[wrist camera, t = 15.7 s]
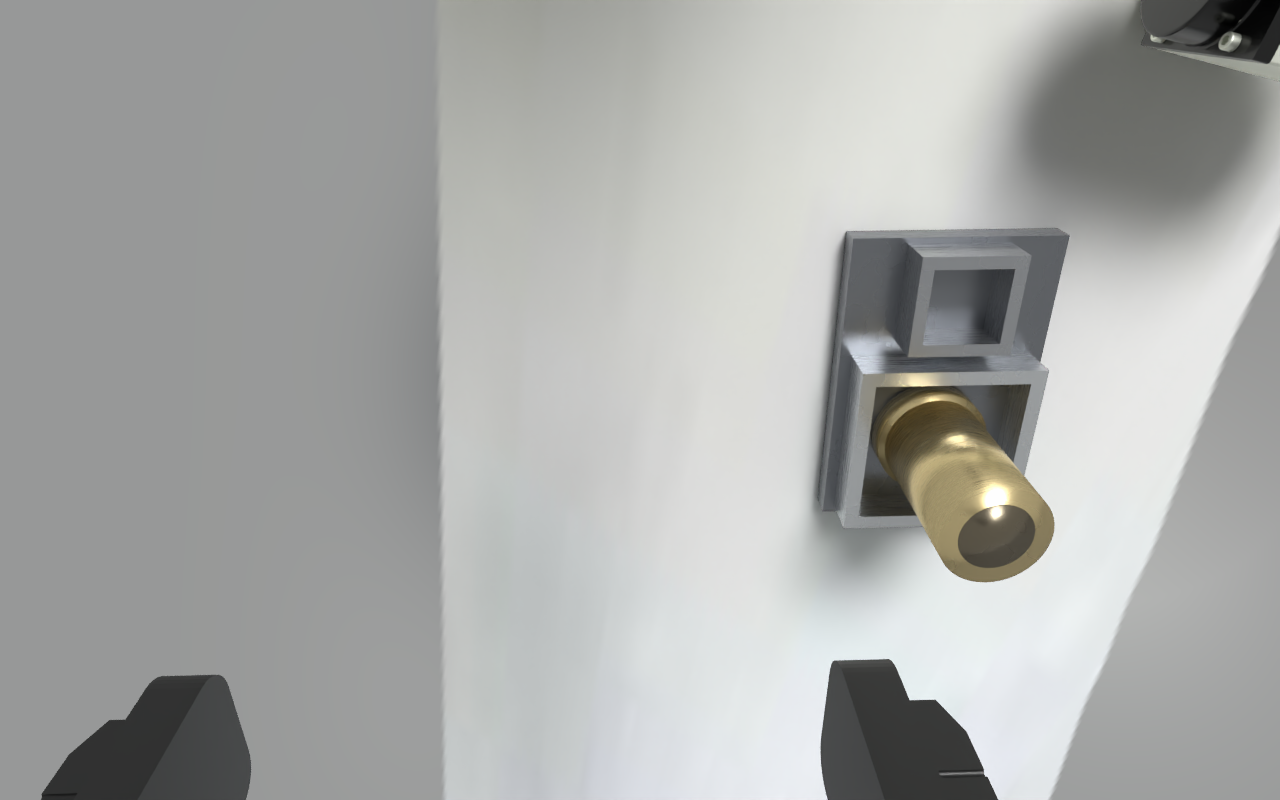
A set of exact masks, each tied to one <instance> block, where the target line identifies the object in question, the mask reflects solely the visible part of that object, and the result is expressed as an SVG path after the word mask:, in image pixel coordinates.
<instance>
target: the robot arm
mask: <svg viewBox="0 0 1280 800" xmlns="http://www.w3.org/2000/svg"><path fill="white" fill-rule="evenodd" d="M821 766H822V774H823V781H824V786H825V790H826V795H827V798H828V800H998V799H997V796H996V794H995V792H994V790H993V788H992V786H991V784H990V781H989V779H988V777H985V775H984V769H983V766H982V764H981V762H980V760H979V758H978V756H977V754H976V751H975V749H974V747H973V745H972V743H971V741H970V739H969V736H968V734H967V732H966V731H965V730H964V729H963V728H962V727H961V726H960V725H959V724H958V723H957V722H956V721H955V720H954V719H953V718H952V716H951V715H950V714H949V713H948V712H947V711H946V710H945V709H944V708H943V707H942V706H941V705H940V704H939V703H938V702H937V701H936V700H911V701H909V698H908V696H907V693H906V691H905V688H904V686H903V683H902V681H901V678H900V676H899V674H898V671H897V669H896V667H895V665H894V664H893V662H892V661H891V660H889V659H882V660H844V661H833V663H832V665H831V668H830V674H829V682H828V689H827V697H826V705H825V712H824V720H823V728H822V736H821ZM250 775H251V760H250V754H249V750H248V747H247V744H246V741H245V737H244V734H243V731H242V728H241V725H240V722H239V718H238V715H237V712H236V709H235V706H234V702H233V699H232V696H231V693H230V690H229V686H228V684H227V682H226V680H225V679H224V678H223V677H222V676H220V675H195V676H161V677H158V678H156V679H155V680H153V681H152V682H151V683H150V684H149V685H148V687H147V688H146V689H145V691H144V692H143V694H142V696H141V697H140V699H139V700H138V702H137V703H136V705H135V706H134V708H133V709H132V711H131V712H130V714H129V715H128V717H127V718H126V720H109V721H108V722H107V723H106V724H104V725H103V726H102V727H101V728H100V729H99V730H97V731H96V732H95V733H94V734H93V735H92V736H90V737H89V738H88V739H87V740H86V741H85V742H83V743H82V744H81V745H80V746H79V747H77V748H76V749H75V750H74V751H73V752H72V753H70V754H69V756H68V757H67V758H66V760H65V761H64V763H63V764H62V766H61V767H60V769H59V770H58V771H57V773H56V775H55V776H54V777H53V779H52V780H51V781H50V783H49V785H48V786H47V787H46V789H45V790H44V791H43V793H42V799H41V800H246V797H247V793H248V789H249V784H250Z"/></svg>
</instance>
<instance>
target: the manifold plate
mask: <svg viewBox="0 0 1280 800" xmlns="http://www.w3.org/2000/svg"><path fill="white" fill-rule="evenodd" d="M1068 240H1069V235H1068V234H1066V233H1065V232H1063V231H1061V230H1059V229H1058V228H1041V229H973V230H905V231H847V232H846V241H845V251H844V260H843V269H842V279H841V288H840V297H839V307H838V316H837V325H836V335H835V344H834V353H833V362H832V372H831V381H830V390H829V400H828V409H827V418H826V428H825V437H824V446H823V456H822V465H821V474H820V484H819V493H818V501H819V503H820V506H821V508H822V511H836V512H837V514H838V516H839V519H840V521H841V524H842V526H843V528H888V527H923V526H922V524H921V522H920V520H919V519H918V517H917V515H916V513H915V511H914V510H913V508H912V506H911V504H910V503H909V501H908V499H907V497H906V495H905V494H904V492H903V490H902V488H901V487H900V485H899V483H898V482H897V481H895V480H893V479H892V478H891V477H890V476H889V475H888V474H887V473H886V472H885V470H884V468H883V467H882V465H881V463H880V461H879V460H878V458H877V456H876V454H875V451H874V449H873V445H872V431H873V427H874V424H875V421H876V419H877V417H878V415H879V413H880V412H881V411H882V409H883V408H884V407H885V406H886V405H887V403H889V402H890V401H891V400H892V399H893V398H894V397H896V396H897V395H899V394H900V393H902V392H904V391H906V390H908V389H911V388H914V387H917V386H949V387H952V388H955V389H957V390H959V391H960V392H962V393H963V394H964V395H965V396H967V397H968V398H969V400H970V401H971V402H972V403H973V404H974V406H975V407H976V408H977V409H978V411H979V412H980V413H981V415H982V417H983V418H984V421H985V424H986V430H987V431H988V433H989V434H990V435H991V436H992V438H993V439H994V440H995V441H996V442H997V444H998V445H999V446H1000V447H1001V449H1002V450H1003V451H1004V452H1005V453H1006V455H1007V456H1008V457H1009V458H1010V460H1011V461H1012V462H1013V463H1014V464H1015V466H1016V467H1017V468H1018V469H1019V471H1020V472H1021V473H1022V474H1023V475H1024V474H1025V470H1026V466H1027V462H1028V457H1029V453H1030V449H1031V445H1032V441H1033V436H1034V432H1035V428H1036V424H1037V420H1038V415H1039V411H1040V407H1041V403H1042V399H1043V394H1044V390H1045V386H1046V382H1047V378H1048V373H1049V370H1048V369H1047V368H1046V367H1045V366H1044V365H1043V364H1041V363H1040V361H1041V357H1042V352H1043V348H1044V344H1045V339H1046V335H1047V331H1048V326H1049V322H1050V318H1051V313H1052V309H1053V305H1054V300H1055V296H1056V292H1057V287H1058V283H1059V279H1060V274H1061V270H1062V266H1063V261H1064V257H1065V253H1066V248H1067V244H1068Z"/></svg>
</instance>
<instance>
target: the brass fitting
mask: <svg viewBox="0 0 1280 800" xmlns="http://www.w3.org/2000/svg"><path fill="white" fill-rule="evenodd" d="M872 445H873V449H874V451H875V454H876V456H877V458H878V460H879V461H880V463H881V465H882V467H883V468H884V470H885V472H886V473H887V474H888V475H889V476H890V477H891V478H892V479H893V480H895V481H897V482H898V483H899V485H900V487H901V488H902V490H903V492H904V494H905V495H906V497H907V499H908V501H909V503H910V504H911V506H912V508H913V510H914V511H915V513H916V515H917V517H918V519H919V520H920V522H921V524H922V526H923V527H924V529H925V531H926V533H927V535H928V536H929V538H930V540H931V542H932V544H933V545H934V547H935V549H936V551H937V552H938V554H939V556H940V558H941V560H942V561H943V563H944V564H945V566H946V567H947V568H948V569H949V570H950V571H951V572H952V573H954V574H955V575H957V576H959V577H961V578H963V579H966V580H970V581H975V582H994V581H1000V580H1003V579H1007V578H1010V577H1012V576H1015V575H1017V574H1019V573H1021V572H1023V571H1024V570H1026V569H1028V568H1029V567H1030V566H1032V565H1033V564H1034V563H1035V562H1036V561H1037V560H1038V559H1039V558H1040V557H1041V556H1042V555H1043V554H1044V552H1045V551H1046V550H1047V548H1048V546H1049V544H1050V542H1051V540H1052V537H1053V533H1054V517H1053V514H1052V511H1051V510H1050V508H1049V506H1048V505H1047V504H1046V502H1045V501H1044V500H1043V499H1042V497H1041V496H1040V495H1039V494H1038V492H1037V491H1036V490H1035V489H1034V488H1033V486H1032V485H1031V484H1030V483H1029V482H1028V480H1027V479H1026V478H1025V477H1024V475H1023V474H1022V473H1021V472H1020V471H1019V469H1018V468H1017V467H1016V466H1015V464H1014V463H1013V462H1012V461H1011V460H1010V458H1009V457H1008V456H1007V455H1006V453H1005V452H1004V451H1003V450H1002V449H1001V447H1000V446H999V445H998V444H997V442H996V441H995V440H994V439H993V438H992V436H991V435H990V434H989V433H988V431H987V430H986V424H985V421H984V418H983V417H982V415H981V413H980V412H979V411H978V409H977V408H976V407H975V406H974V404H973V403H972V402H971V401H970V400H969V398H968V397H967V396H965V395H964V394H963V393H962V392H960V391H959V390H957V389H955V388H952V387H949V386H917V387H914V388H911V389H908V390H906V391H904V392H902V393H900V394H899V395H897V396H896V397H894V398H893V399H892V400H891V401H890V402H889V403H887V405H886V406H885V407H884V408H883V409H882V411H881V412H880V413H879V415H878V417H877V419H876V421H875V424H874V427H873V431H872Z"/></svg>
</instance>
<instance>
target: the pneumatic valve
mask: <svg viewBox="0 0 1280 800" xmlns="http://www.w3.org/2000/svg"><path fill="white" fill-rule="evenodd" d="M1141 20H1142V24H1143V26H1144V28H1145V30H1146V34H1145V36H1144V38H1143V40H1142V43H1141V45H1143V46H1146V47H1150V48H1154V49H1158V50H1162V51H1165V52H1169V53H1173V54H1177V55H1181V56H1184V57H1188V58H1192V59H1196V60H1200V61H1203V62H1207V63H1211V64H1215V65H1218V66H1222V67H1226V68H1230V69H1234V70H1237V71H1241V72H1245V73H1249V74H1253V75H1256V76H1260V77H1264V78H1268V79H1272V80H1275V81H1279V82H1280V0H1141Z"/></svg>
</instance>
